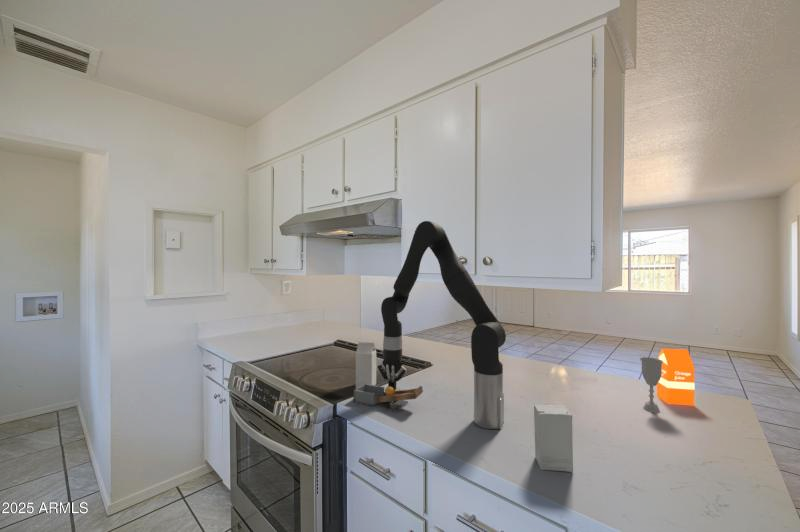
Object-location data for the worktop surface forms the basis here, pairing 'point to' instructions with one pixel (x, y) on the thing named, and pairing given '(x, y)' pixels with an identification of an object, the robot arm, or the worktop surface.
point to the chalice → (651, 379)
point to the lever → (401, 395)
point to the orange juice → (676, 377)
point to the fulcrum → (396, 405)
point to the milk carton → (365, 364)
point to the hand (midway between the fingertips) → (392, 390)
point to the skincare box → (553, 437)
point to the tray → (367, 394)
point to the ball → (389, 391)
